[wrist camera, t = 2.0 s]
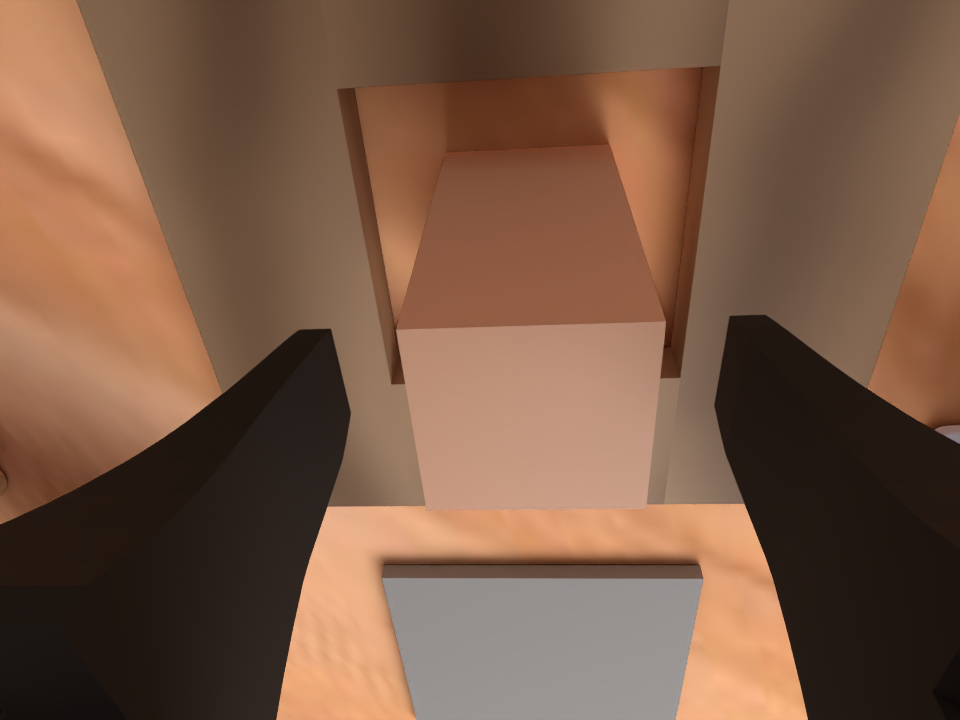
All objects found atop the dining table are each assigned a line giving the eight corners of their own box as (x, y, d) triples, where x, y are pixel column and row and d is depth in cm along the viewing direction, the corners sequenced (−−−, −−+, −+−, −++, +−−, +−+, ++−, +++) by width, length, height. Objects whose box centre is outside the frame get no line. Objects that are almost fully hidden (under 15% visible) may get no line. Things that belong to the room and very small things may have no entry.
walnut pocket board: (1037, -281, 12) (1097, -299, 10) (812, 468, 22) (828, 502, 21) (53, -184, 13) (6, -190, 12) (278, 474, 24) (264, 507, 22)
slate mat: (699, 565, 25) (703, 578, 25) (669, 724, 32) (672, 737, 32) (384, 565, 26) (381, 578, 26) (421, 719, 33) (419, 732, 33)
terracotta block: (609, 144, 16) (666, 321, 10) (603, 288, 19) (646, 509, 12) (445, 152, 17) (395, 330, 10) (459, 293, 19) (426, 510, 12)
